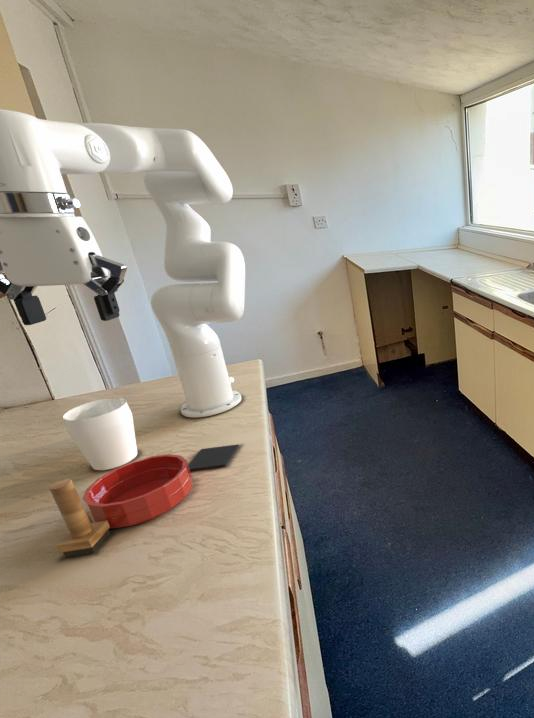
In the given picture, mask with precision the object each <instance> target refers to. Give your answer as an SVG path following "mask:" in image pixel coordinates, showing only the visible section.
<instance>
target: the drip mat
mask: <svg viewBox="0 0 534 718" xmlns="http://www.w3.org/2000/svg"><path fill="white" fill-rule="evenodd" d="M239 447H240V444H232V445H231V444H230V445H223V446H215V447H206V448H201V449H200V450H199V452H197V454H196V455H195V457H193V459H192V460H191V461H190V462H189V463H188V466H189V469H190V472H195V471H202V470H210V469H216V468H217V469H218V468H224V467H225V468H226V467H227V465H228V464H229V462H230V461H231V459H232V458H233V456H234V455H235V453H236V452H237V450H238V449H239Z"/></svg>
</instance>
